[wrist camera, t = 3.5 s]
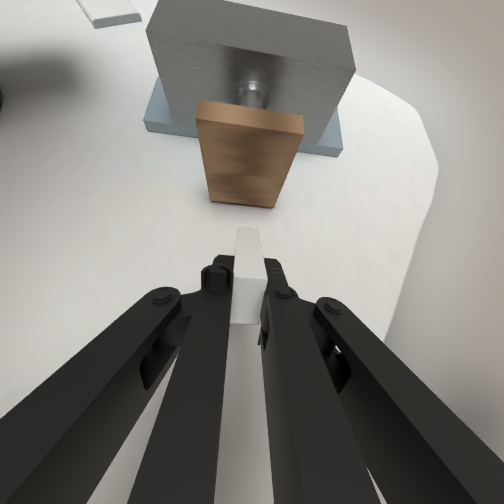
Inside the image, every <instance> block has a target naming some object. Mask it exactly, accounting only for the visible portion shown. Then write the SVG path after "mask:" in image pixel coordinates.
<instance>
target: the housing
mask: <svg viewBox="0 0 504 504" xmlns="http://www.w3.org/2000/svg"><path fill="white" fill-rule="evenodd" d="M145 31H146V34H147V37H148V41H149V44H150V47H151V50H152V54H153V57H154V60H155V64H156V67H157V70H158V73H159V77H158V78H157V81H156V84H155V87H154V90H153V93H152V96H151V98H150V101H149V104H148V107H147V110H146V113H145V116H144V119H143V121H144V123H145V125H146V128H147V130H148V131H153V132H160V133H167V134H174V135H181V136H189V137H196V138H199V137H198V132H197V127H196V121H195V116H196V111H197V106H198V102H199V99H200V100H207V101H213V102H220V103H226V104H232V105H239V97H240V95H241V93H242V92H243V91H244V90H245V89H251V90H257V91H259V92H260V93H261V95H262V97H263V109H264V110H271V111H277V112H283V113H290V114H296V115H302V116H303V126H304V136H303V138H302V140H301V143H300V145H299V148H298V150H297V152H305V153H312V154H319V155H326V156H334V157H338V156H339V154H340V153H341V151H342V150H343V144H342V137H341V130H340V123H339V116H338V109H337V105H338V104H339V102H340V100H341V98H342V96H343V94H344V92H345V90H346V88H347V86H348V84H349V82H350V80H351V79H352V77H353V75H354V73H355V71H356V67H355V63H354V58H353V53H352V49H351V44H350V40H349V35H348V30H347V26H344V25H340V24H335V23H330V22H325V21H320V20H315V19H311V18H306V17H301V16H296V15H292V14H287V13H281V12H277V11H272V10H267V9H262V8H258V7H253V6H248V5H243V4H239V3H233V2H229V1H224V0H159V1H158V3H157V5H156V8H155V10H154V12H153V14H152V17H151V19H150V21H149V24H148V26H147V28H146V30H145Z"/></svg>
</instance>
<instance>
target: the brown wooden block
mask: <svg viewBox="0 0 504 504" xmlns="http://www.w3.org/2000/svg"><path fill="white" fill-rule="evenodd" d="M195 121H196V127H197V132H198V137H199V142H200V148H201V153H202V158H203V164H204V169H205V174H206V180H207V185H208V190H209V196H210V201H219V202H228V203H238V204H247V205H256V206H265V207H274V206H275V203H276V201H277V198H278V196H279V194H280V191H281V189H282V186H283V184H284V181H285V179H286V177H287V174H288V172H289V169H290V167H291V165H292V162H293V160H294V157H295V155H296V152H297V150H298V148H299V145H300V143H301V140H302V138H303V136H304V126H303V116H302V115H296V114H290V113H283V112H277V111H271V110H264V109H263V97H262V95H261V93H260V92H259V91H257V90H251V89H245V90H244V91H243V92H242V93H241V95H240V97H239V105H232V104H226V103H220V102H213V101H207V100H200V99H199V102H198V106H197V111H196V116H195Z"/></svg>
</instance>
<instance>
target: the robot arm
mask: <svg viewBox="0 0 504 504" xmlns="http://www.w3.org/2000/svg"><path fill="white" fill-rule="evenodd" d="M0 104H1V91H0ZM260 318H261V329H260V334H259V340H258V345H260V342H261V354H262V366H263V378H264V389H265V401H266V413H267V425H268V436H269V448H270V460H271V472H272V483H273V495H274V504H381V503H380V500H379V497H378V495H377V492H376V490H375V487H374V485H373V482H372V480H371V477H370V475H369V472H368V470H369V471H370V473H371V475H372V477H373V479H374V480H375V482H376V484H377V486H378V488H379V489H380V491H381V493H382V495H383V497H384V499H385V501H386V502H387V504H504V463H503V461H502V460H501V459H500V458H499V457H498V456H497V455H496V454H495V453H494V452H493V451H492V450H491V449H490V448H489V447H488V446H487V445H486V444H485V443H484V442H483V441H482V440H481V439H479V437H478V436H476V434H474V432H473V431H472V430H471V429H469V428H468V427H467V426H466V425H465V424H464V423H463V422H462V421H461V420H460V419H459V418H458V417H457V416H456V415H455V414H454V413H453V412H452V411H451V410H450V409H449V408H448V407H447V406H446V405H445V404H444V403H443V402H442V401H441V400H440V399H439V398H438V397H437V396H436V395H435V394H434V393H433V392H432V391H431V390H430V389H429V388H428V387H427V386H426V385H425V384H424V383H423V382H422V381H421V380H420V379H419V378H418V377H417V376H416V375H415V374H414V373H413V372H412V371H411V370H410V369H409V368H408V367H407V366H406V365H405V364H404V363H403V362H402V361H401V360H400V359H399V358H398V357H397V356H396V355H395V354H394V353H393V352H392V351H391V350H390V349H389V348H388V347H387V346H386V345H385V344H384V343H383V342H382V341H381V340H380V339H379V338H378V337H377V336H376V335H375V334H374V333H373V332H372V331H371V330H370V329H369V328H368V327H367V326H366V325H365V324H364V323H363V322H362V321H361V320H360V319H359V318H358V317H357V316H356V315H355V314H354V313H353V312H352V311H351V310H349V309H348V308H347V307H346V306H345V305H344V304H343V303H342V302H340V301H338V300H336V299H333V298H330V297H322V298H319V299H318V300H317V302H316V304H315V303H312V302H308V301H305V300H302V299H300V298H299V297H298V294H297V293H296V291H295V290H293V289H292V288H291V287H289V286H288V283H287V280H286V278H285V275H284V272H283V269H282V266H281V264H280V263H279V262H278V261H277V260H276V259H270V258H263V253H262V248H261V243H260V238H259V233H258V229H252V228H242V227H238V232H237V242H236V252H235V256H228V255H218V256H217V257H215V258H214V261H213V264H212V265H209V266H207V267H205V268H203V270H202V271H201V290H199V291H197V292H194V293H190V294H183V295H180V292H179V291H178V289H175V288H173V287H160V288H157V289H154V290H152V291H150V292H148V293H147V294H146V295H144V296H143V297H142V298H141V299H140V300H139V301H137V302H136V303H135V304H134V305H133V306H132V307H130V308H129V309H128V310H127V311H126V312H125V313H123V314H122V315H121V316H120V317H119V318H118V319H116V320H115V321H114V322H113V323H112V324H111V325H109V326H108V327H107V328H106V329H105V330H104V331H102V332H101V333H100V334H99V335H98V336H97V337H95V338H94V339H93V340H92V341H91V342H90V343H88V344H87V345H86V346H85V347H84V348H83V349H81V350H80V351H79V352H78V353H77V354H76V355H74V356H73V357H72V358H71V359H70V360H69V361H67V362H66V363H65V364H64V365H63V366H62V367H60V368H59V369H58V370H57V371H56V372H55V373H53V374H52V375H51V376H50V377H49V378H48V379H46V380H45V381H44V382H43V383H42V384H41V385H39V386H38V387H37V388H36V389H35V390H34V391H32V392H31V393H30V394H29V395H28V396H27V397H25V398H24V399H23V400H22V401H21V402H20V403H18V404H17V405H16V406H15V407H14V408H13V409H11V410H10V411H9V412H8V413H7V414H6V415H4V416H3V417H2V418H1V419H0V504H86V503H87V501H88V500H89V498H90V497H91V495H92V493H93V492H94V490H95V488H96V487H97V485H98V484H99V482H100V480H101V479H102V477H103V475H104V474H105V472H106V471H107V469H108V467H109V466H110V464H111V462H112V461H113V459H114V458H115V456H116V454H117V453H118V451H119V449H120V448H121V446H122V444H123V443H124V441H125V440H126V438H127V436H128V435H129V433H130V431H131V430H132V428H133V427H134V425H135V423H136V422H137V420H138V418H139V417H140V415H141V414H142V412H143V410H144V409H145V407H146V405H147V404H148V402H149V401H150V399H151V397H152V396H153V394H154V392H155V391H156V389H157V388H158V386H159V384H160V383H161V381H162V379H163V378H164V376H165V375H166V373H167V371H168V370H169V368H170V366H171V365H172V363H173V362H174V360H175V358H176V357H177V355H178V357H177V360H176V363H175V366H174V369H173V372H172V375H171V377H170V380H169V383H168V386H167V389H166V392H165V395H164V398H163V401H162V404H161V407H160V409H159V412H158V415H157V418H156V421H155V424H154V427H153V430H152V433H151V436H150V439H149V441H148V444H147V447H146V450H145V453H144V456H143V459H142V462H141V465H140V468H139V471H138V473H137V476H136V479H135V482H134V485H133V488H132V491H131V494H130V497H129V500H128V502H127V504H214V494H215V483H216V472H217V461H218V449H219V438H220V427H221V416H222V405H223V394H224V383H225V371H226V360H227V349H228V338H229V327H230V323H239V324H258V325H259V323H260ZM335 346H337V347H338V349H339V350H340V351H341V353H340V352H339V351H338V350H337V349H336V347H335ZM178 353H179V354H178ZM365 464H366V465H365ZM366 466H367V467H366ZM367 468H368V470H367Z"/></svg>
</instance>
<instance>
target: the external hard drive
mask: <svg viewBox="0 0 504 504" xmlns="http://www.w3.org/2000/svg"><path fill="white" fill-rule="evenodd" d="M77 2H78V3H79V5H80V6H81V8H82V9H83V11H84V12H85V14H86V15H87V17H88V18H89V20H90V21H91V23H92V24H93V26H94V27H95V29H98V28H104V27H110V26H116V25H122V24H128V23H135V22H141V21H142V19H141V16H140V13H139V12H138V11H137V9H136V8H135V7H134V6H133V5H132V3H131V2H130V1H129V0H77Z"/></svg>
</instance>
